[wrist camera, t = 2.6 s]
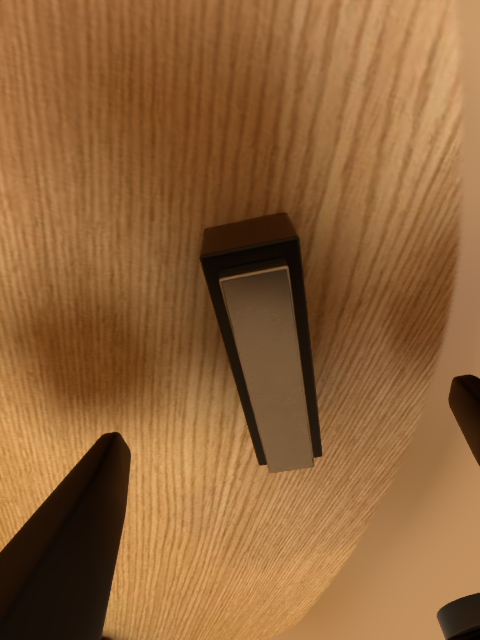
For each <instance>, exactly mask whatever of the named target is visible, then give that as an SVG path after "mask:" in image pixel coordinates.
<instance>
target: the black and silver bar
mask: <svg viewBox="0 0 480 640" xmlns="http://www.w3.org/2000/svg"><path fill="white" fill-rule="evenodd" d="M199 259H200V263H201V266H202V270H203V273H204V276H205V280H206V283H207V287H208V290H209V294H210V297H211V301H212V304H213V308H214V311H215V315H216V318H217V322H218V325H219V328H220V332H221V335H222V339H223V342H224V346H225V349H226V353H227V356H228V360H229V363H230V367H231V370H232V373H233V377H234V380H235V384H236V387H237V391H238V394H239V398H240V401H241V405H242V408H243V412H244V415H245V419H246V422H247V425H248V429H249V432H250V436H251V439H252V443H253V446H254V450H255V453H256V457H257V460H258V463H259V465H268V469H269V472H270V473H276V472H283V471H290V470H297V469H304V468H311V467H314V458H316V457H321V456H322V445H321V435H320V426H319V416H318V407H317V397H316V388H315V378H314V369H313V359H312V350H311V340H310V331H309V321H308V312H307V302H306V293H305V283H304V274H303V264H302V255H301V245H300V238H299V236H298V234H297V232H296V230H295V228H294V226H293V224H292V222H291V220H290V218H289V216H288V214H287V213H285V212H284V213H280V214H275V215H270V216H265V217H260V218H256V219H251V220H246V221H241V222H237V223H232V224H227V225H222V226H217V227H213V228H208V229H205V230H204V234H203V240H202V246H201V251H200V257H199Z"/></svg>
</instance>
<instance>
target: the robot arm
mask: <svg viewBox="0 0 480 640" xmlns="http://www.w3.org/2000/svg"><path fill="white" fill-rule="evenodd" d="M449 405H450V408H451V410H452V412H453V414H454V416H455V418H456V420H457V422H458V424H459V426H460V428H461V430H462V433H463V434H464V436H465V439H466V441H467V443H468V445H469V447H470V449H471V451H472V453H473V455H474V457H475V459H476V460H477V462H478V464H479V466H480V379H479V378H478V377H476V376H473V375H463V376H457V377H454V378H453V380H452V384H451V388H450V393H449ZM130 461H131V453H130V449H129V447H128V446H127V444H126V442H125V441H124V439H123V438H122V436H121V434H120V433H118V432H112V433H106V434H103V435H102V436H101V437H100V438H99V439H98V440H97V441H96V443H95V444H94V445H93V446H92V447H91V448H90V449H89V451H88V452H87V453H86V454H85V455H84V456H83V458H82V459H81V460H80V461H79V462H78V463H77V464H76V466H75V467H74V468H73V469H72V470H71V471H70V473H69V474H68V475H67V476H66V477H65V478H64V479H63V481H62V482H61V483H60V484H59V485H58V486H57V488H56V489H55V490H54V491H53V492H52V493H51V494H50V496H49V497H48V498H47V499H46V500H45V501H44V502H43V504H42V505H41V506H40V507H39V508H38V509H37V511H36V512H35V513H34V514H33V515H32V516H31V517H30V519H29V520H28V521H27V522H26V523H25V524H24V526H23V527H22V528H21V529H20V530H19V531H18V532H17V534H16V535H15V536H14V537H13V538H12V539H11V541H10V542H9V543H8V544H7V545H6V546H5V547H4V549H3V550H2V551H1V552H0V640H101V637H102V632H103V626H104V621H105V616H106V611H107V606H108V601H109V596H110V591H111V586H112V580H113V575H114V570H115V565H116V560H117V555H118V550H119V545H120V540H121V535H122V529H123V524H124V519H125V513H126V505H127V494H128V483H129V472H130ZM447 640H480V629H477V630H474V631H471V632H468V633H465V634H462V635H459V636H456V637H453V638H450V639H447Z"/></svg>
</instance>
